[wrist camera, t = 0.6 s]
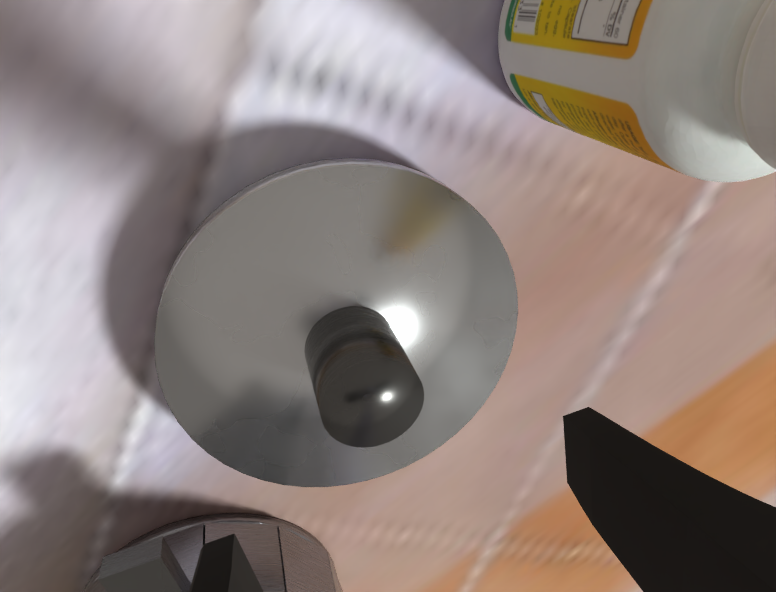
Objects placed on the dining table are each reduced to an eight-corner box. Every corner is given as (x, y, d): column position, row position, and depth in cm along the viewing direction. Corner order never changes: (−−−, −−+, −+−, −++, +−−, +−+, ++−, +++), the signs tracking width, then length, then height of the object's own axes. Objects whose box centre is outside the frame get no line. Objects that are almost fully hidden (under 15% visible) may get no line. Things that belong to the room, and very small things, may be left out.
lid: (509, 394, 23) (574, 481, 19) (229, 491, 21) (233, 609, 17) (473, 107, 18) (555, 140, 13) (94, 210, 16) (53, 284, 12)
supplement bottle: (480, -53, 16) (787, -113, 7) (659, -98, 16) (1125, -199, 8) (503, 145, 18) (747, 266, 10) (656, 99, 19) (1003, 177, 11)
